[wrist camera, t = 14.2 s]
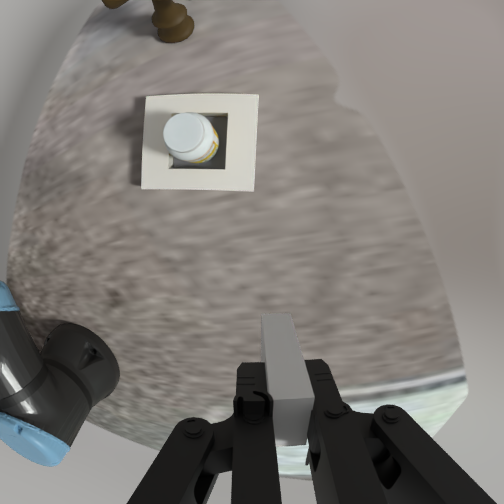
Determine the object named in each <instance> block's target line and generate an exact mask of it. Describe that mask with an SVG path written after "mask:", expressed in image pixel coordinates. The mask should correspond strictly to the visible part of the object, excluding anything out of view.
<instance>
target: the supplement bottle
mask: <svg viewBox="0 0 504 504" xmlns="http://www.w3.org/2000/svg"><path fill="white" fill-rule="evenodd" d="M163 138H164V142H165V146H166V148H167V150H168V151H169V153H170V154H171V155H173V156H174V157H175V158H177V159H180V160H183V161H187V162H190V163H204V162H206V161H208V160H210V159H211V158H212V157H213V156H214V155H215V154H216V152H217V150H218V147H219V137H218V134H217V132H216V131H215V129H214V128H213V126H212V125H211V123H210V122H209V121H208V120H207V119H206V118H205V117H204V116H202V115H201V114H198V113H194V112H186V113H179V114H176V115H174V116H173V117H171V118H170V119H169V120H168V121H167V123H166V124H165V127H164V130H163Z"/></svg>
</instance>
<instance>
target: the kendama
mask: <svg viewBox="0 0 504 504" xmlns="http://www.w3.org/2000/svg"><path fill="white" fill-rule="evenodd" d="M127 1H128V0H102V2H103V3H104V5H105V6H106V7H108V8H109V9H115V8H118V7H120V6H121V5H123V4H124V3H126V2H127ZM152 2H153V5H154V9H155V12H154V13H153V16H152V23H153V24H154V26H155V27H157V28H158V36H159V37H160V39H161V40H163V41H165V42H169V43H175V42H181V41H183V40H185V39H187V38H188V37H189V36H190V35H191V34H192V32H193V29H194V21H193V19H192V18H191V17H190V16H188V15H187V9H186V7H185V6H184V5H182V4H179V3H174V2H173V1H172V0H152Z"/></svg>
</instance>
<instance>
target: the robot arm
mask: <svg viewBox="0 0 504 504" xmlns="http://www.w3.org/2000/svg"><path fill="white" fill-rule="evenodd" d="M19 310H20V309H19V307H18V306H17V305H16V303H15V301H14V299H13V297H12V294H11V292H10V290H9V288H8V286H7V285H6V284H5V283H4V282H2V281H0V439H1V440H2V441H3V442H5V443H6V444H7V445H8V446H9V447H10V448H12V449H13V450H14V451H16V452H17V453H19V454H20V455H22V456H23V457H25V458H27V459H29V460H31V461H33V462H35V463H37V464H40V465H43V466H49V467H52V466H56V465H58V464H59V463H60V462H61V461H62V459H63V457H64V456H65V455H66V453H67V452H69V450H70V447H71V445H72V443H73V441H74V439H75V437H76V436H77V434H78V432H79V430H80V428H81V426H82V424H83V423H84V421H85V419H86V417H87V415H88V414H89V412H90V410H91V408H92V407H93V406H95V405H96V404H97V403H98V402H100V401H101V400H102V399H104V398H106V397H108V396H109V395H110V394H111V393H112V392H113V391H114V389H115V387H116V385H117V384H118V381H119V377H120V371H119V366H118V363H117V360H116V358H115V356H114V354H113V353H112V351H111V350H110V348H109V347H108V346H107V345H106V344H105V343H104V342H103V341H102V340H101V339H100V338H99V337H98V336H97V335H96V334H94V333H93V332H91V331H90V330H88V329H86V328H84V327H82V326H79V325H75V324H63V325H60V326H58V327H56V328H55V329H54V330H53V331H52V332H51V333H50V334H49V335H48V337H47V338H46V341H45V344H44V347H43V349H42V351H41V354H40V353H39V351H38V349H37V347H36V345H35V343H34V341H33V339H32V337H31V335H30V333H29V331H28V329H27V327H26V325H25V323H24V320H23V318H22V316H21V314H20V311H19ZM233 407H234V413H233V415H232V416H231V417H230V418H228V419H226V420H225V421H222V422H218V423H213V424H210V423H209V422H208V421H207V420H204V419H202V418H195V417H192V418H186V419H184V420H182V421H180V422H179V423H178V424H177V425H176V426H175V428H174V429H173V431H172V433H171V434H170V436H169V437H168V439H167V441H166V442H165V444H164V445H163V447H162V449H161V450H160V452H159V454H158V455H157V457H156V458H155V460H154V461H153V463H152V465H151V466H150V468H149V469H148V471H147V473H146V474H145V476H144V477H143V479H142V481H141V482H140V484H139V485H138V487H137V488H136V490H135V491H134V493H133V495H132V496H131V498H130V499H129V501H128V503H127V504H206V503H207V501H208V499H209V496H210V494H211V492H212V489H213V487H214V484H215V482H216V480H217V477H218V475H219V473H223V472H227V471H232V492H231V504H282V502H281V491H280V482H279V472H278V463H277V453H276V447H282V446H297V445H306V442H307V438H308V443H309V449H308V453H307V458H306V464H305V465H308V464H310V469H311V475H312V480H313V485H314V490H315V496H316V501H317V504H497V503H496V502H495V501H494V500H493V499H492V498H491V497H490V496H488V494H487V493H486V492H485V491H484V490H483V489H482V488H481V487H480V486H479V485H478V484H477V483H476V482H475V481H474V480H473V479H472V478H471V477H470V476H469V475H468V474H467V473H466V472H465V471H464V470H463V469H462V468H461V467H460V466H459V465H458V464H457V463H456V462H455V461H454V460H453V459H452V458H451V457H450V456H449V455H448V454H447V453H446V452H445V451H444V450H443V449H442V448H441V447H440V446H439V445H438V444H437V443H436V442H435V441H434V440H433V439H432V438H431V437H430V436H429V435H428V434H427V433H426V432H425V431H424V430H423V429H422V428H421V427H420V426H419V425H418V424H417V423H416V422H415V421H414V420H413V418H412V417H411V416H410V415H409V414H408V413H407V412H406V411H405V410H403V409H402V408H400V407H398V406H395V405H383V406H380V407H379V408H377V409H376V411H375V412H374V414H371V413H360V412H356V411H353V410H352V409H351V408H350V406H349V405H348V404H346V403H344V402H343V401H342V399H341V397H340V394H339V391H338V389H337V386H336V384H335V381H334V380H333V376H332V374H331V371H330V368H329V366H328V365H327V364H326V363H325V362H324V361H323V360H322V359H314V360H304V358H303V355H302V351H301V348H300V344H299V341H298V337H297V334H296V331H295V327H294V324H293V320H292V317H291V314H290V313H269V314H262V316H261V362H251V363H241V365H240V366H239V367H238V369H237V382H236V396H235V397H234V400H233Z"/></svg>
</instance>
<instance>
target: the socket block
mask: <svg viewBox="0 0 504 504" xmlns="http://www.w3.org/2000/svg"><path fill="white" fill-rule="evenodd" d="M258 99H259V95H254V94H175V95H159V96H146V105H145V117H144V131H143V149H142V180H141V189H194V190H230V191H253V192H254V177H255V158H256V138H257V118H258ZM186 112H194V113H198V114H201V115H202V116H224V117H205V118H206V119H207V120H208V121H209V122H210V123H211V125H212V126H213V128H214V129H215V131H216V132H217V134H218V137H219V147H218V150H217V152H216V154H215V155H214V156H213V157H212V158H211V159H210V160H208V161H206V162H204V163H190V162H187V161H183V160H180V159H177V158H175V157H174V156H173V155H171V154H170V153H169V151H168V150H167V148H166V146H165V142H164V138H163V130H164V127H165V124H166V123H167V121H168V120H169V119H170V118H171V117H173V116H174V115H176V114H179V113H186ZM173 162H174V167H173ZM173 168H205V169H173ZM223 169H225V170H223Z"/></svg>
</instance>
